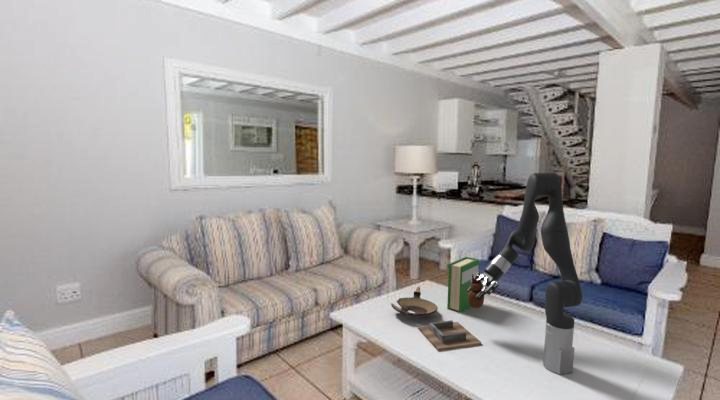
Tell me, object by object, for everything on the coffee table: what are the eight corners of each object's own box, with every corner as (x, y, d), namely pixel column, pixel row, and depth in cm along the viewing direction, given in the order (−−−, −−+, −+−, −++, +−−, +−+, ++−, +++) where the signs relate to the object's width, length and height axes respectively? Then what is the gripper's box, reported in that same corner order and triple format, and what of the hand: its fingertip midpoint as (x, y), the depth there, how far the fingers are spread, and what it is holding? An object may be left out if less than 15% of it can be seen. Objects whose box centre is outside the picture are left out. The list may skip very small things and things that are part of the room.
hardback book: (460, 313, 192) (462, 266, 189) (447, 309, 197) (449, 263, 194) (476, 303, 205) (478, 259, 202) (463, 299, 210) (465, 256, 207)
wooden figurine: (466, 307, 169) (467, 275, 167) (469, 303, 174) (470, 271, 172) (482, 310, 166) (483, 277, 164) (484, 306, 171) (486, 273, 169)
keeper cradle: (481, 344, 161) (481, 335, 161) (437, 350, 156) (438, 341, 156) (457, 323, 180) (457, 315, 180) (417, 328, 175) (418, 320, 175)
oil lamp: (382, 316, 187) (382, 301, 186) (410, 297, 212) (411, 284, 211) (424, 329, 175) (424, 313, 174) (449, 307, 199) (450, 293, 198)
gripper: (483, 257, 176) (459, 284, 175) (502, 267, 162) (476, 296, 161) (492, 268, 178) (469, 295, 177) (512, 278, 165) (487, 307, 163)
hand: (472, 295), depth 169 cm, fingers closed on wooden figurine, 6 cm apart
